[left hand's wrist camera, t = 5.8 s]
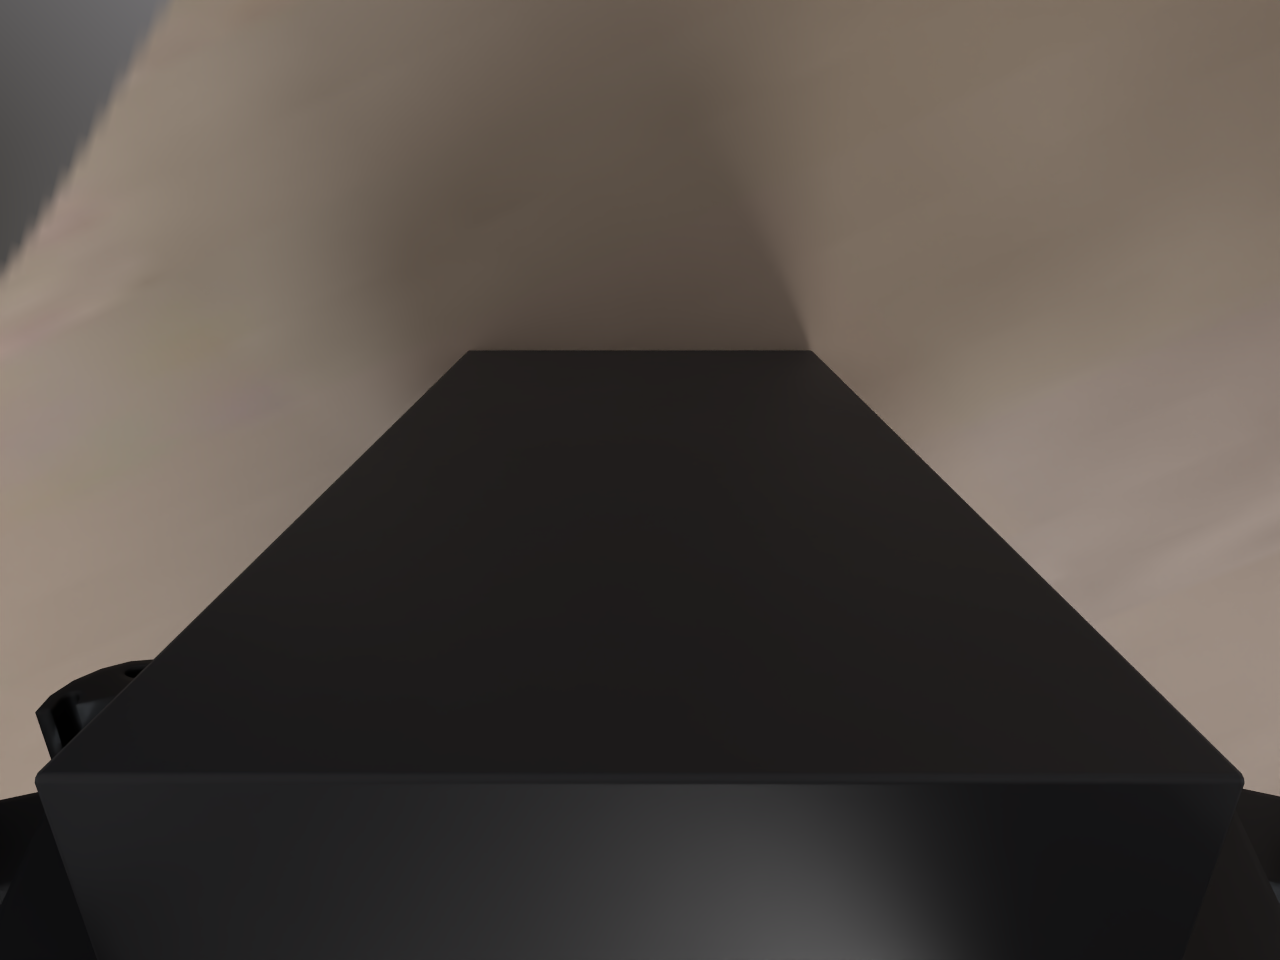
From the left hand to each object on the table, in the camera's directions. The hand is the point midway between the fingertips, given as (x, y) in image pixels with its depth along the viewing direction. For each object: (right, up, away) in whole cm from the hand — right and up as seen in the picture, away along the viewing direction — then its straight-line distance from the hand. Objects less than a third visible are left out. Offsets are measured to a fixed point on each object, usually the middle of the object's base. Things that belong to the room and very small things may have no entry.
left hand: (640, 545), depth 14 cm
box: (0, -8, +6) cm, 10 cm away
